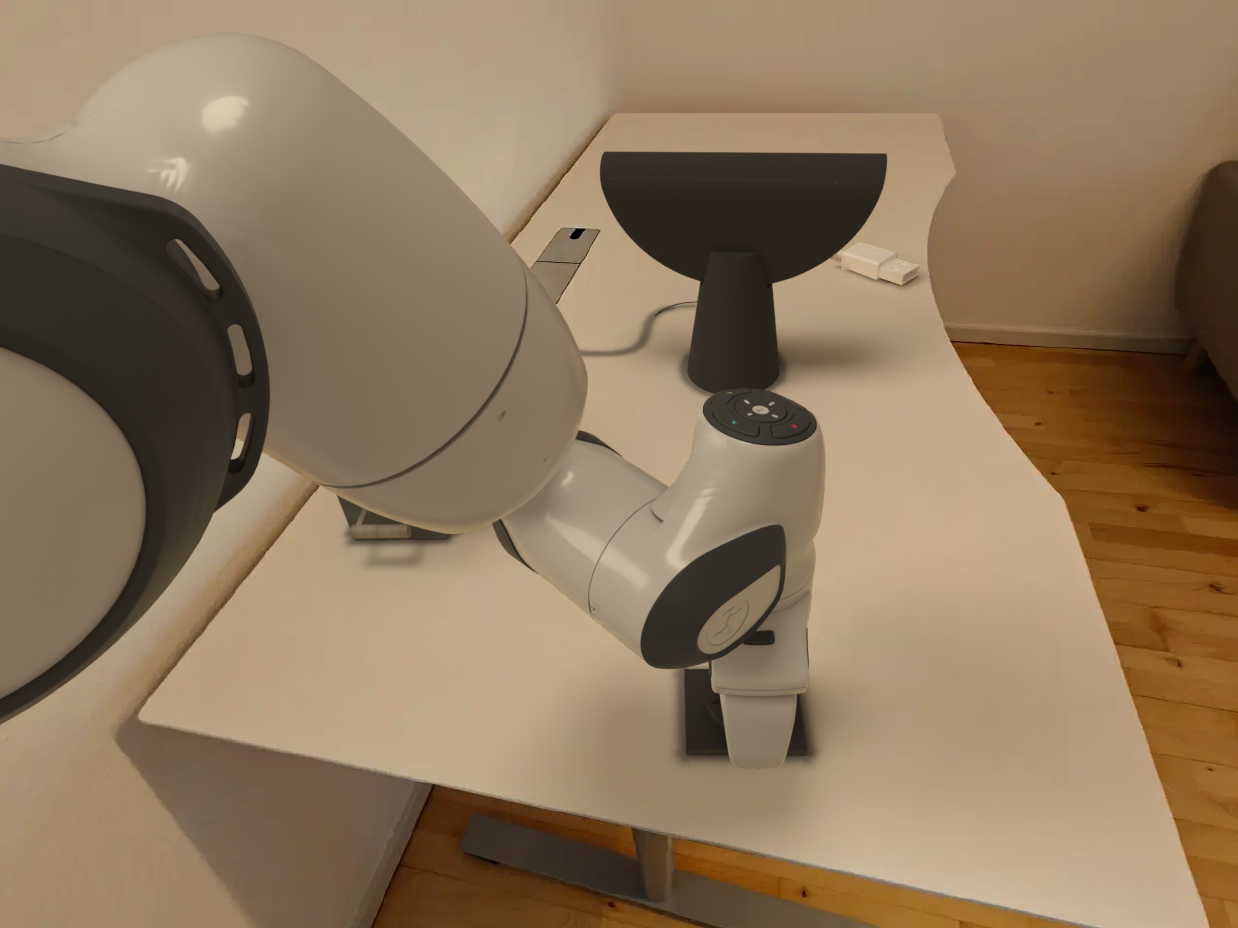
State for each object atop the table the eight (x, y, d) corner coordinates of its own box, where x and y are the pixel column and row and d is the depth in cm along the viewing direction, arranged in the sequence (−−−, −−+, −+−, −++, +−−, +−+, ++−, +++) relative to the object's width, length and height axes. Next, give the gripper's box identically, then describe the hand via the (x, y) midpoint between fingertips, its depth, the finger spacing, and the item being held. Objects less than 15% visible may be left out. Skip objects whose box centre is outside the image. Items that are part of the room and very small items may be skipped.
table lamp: (572, 452, 100) (541, 222, 81) (536, 337, 121) (505, 133, 102) (870, 391, 106) (909, 162, 86) (787, 291, 127) (802, 89, 107)
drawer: (438, 567, 86) (422, 514, 81) (343, 568, 87) (321, 516, 82) (469, 459, 99) (456, 408, 94) (386, 461, 100) (369, 411, 95)
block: (805, 761, 68) (809, 738, 65) (686, 760, 68) (685, 738, 66) (794, 679, 74) (797, 656, 71) (684, 679, 74) (683, 656, 72)
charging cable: (761, 228, 146) (761, 210, 144) (918, 279, 126) (921, 259, 124) (741, 237, 144) (741, 219, 142) (899, 291, 124) (902, 271, 122)
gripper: (702, 486, 67) (702, 594, 76) (713, 702, 52) (711, 805, 61) (779, 485, 67) (770, 593, 76) (813, 702, 51) (796, 806, 60)
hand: (744, 689), depth 68 cm, fingers closed, pressing on start button
